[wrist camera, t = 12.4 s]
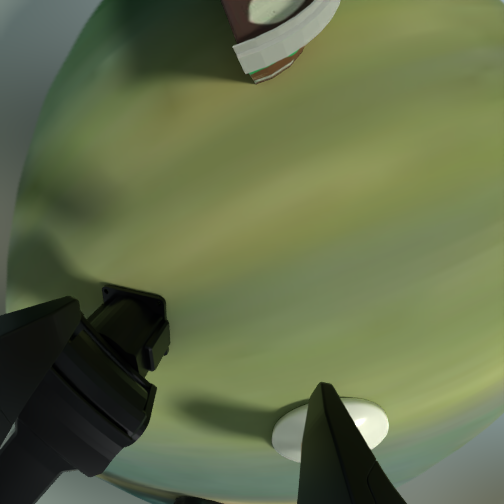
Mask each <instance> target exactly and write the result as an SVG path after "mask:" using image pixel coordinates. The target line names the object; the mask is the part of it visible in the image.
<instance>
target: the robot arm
mask: <svg viewBox="0 0 504 504" xmlns="http://www.w3.org/2000/svg"><path fill="white" fill-rule="evenodd" d="M107 290H108V291H107ZM102 293H103V299H104V303H103V304H102V305H101V306H100V307H99V308H98V309H97V310H96V311H95V312H94V313H93V314H92V315H91V316H90V317H89V318H88V319H86V318H85V317H84V316H83V315H84V314H83V313H82V312H81V311H80V306H79V301H78V300H77V299H75V298H73V297H71V296H66V297H63V298H59V299H56V300H52V301H49V302H45V303H42V304H39V305H35V306H32V307H28V308H25V309H21V310H18V311H14V312H11V313H7V314H4V315H1V316H0V504H35V503H36V502H37V501H38V500H39V499H40V497H41V496H42V495H43V494H44V493H45V492H46V491H47V490H48V488H49V487H50V486H51V485H52V484H53V483H54V482H55V480H56V479H57V478H58V477H59V476H60V475H61V474H62V473H63V472H68V471H75V470H79V471H81V472H82V473H83V474H85V475H86V476H88V477H93V476H95V475H98V474H101V473H102V472H103V471H104V470H105V469H106V467H107V466H108V465H109V463H110V462H111V461H112V460H113V458H114V457H115V456H116V455H117V454H118V453H119V452H120V451H121V450H122V449H123V448H124V447H127V446H130V445H131V444H133V443H134V442H135V441H136V440H137V439H138V438H139V437H140V436H141V435H142V434H143V432H144V431H145V429H146V428H147V426H148V424H149V421H150V417H151V412H152V408H153V403H154V399H155V395H156V390H157V387H156V386H154V385H153V384H152V383H149V382H148V381H147V380H146V379H145V376H146V375H147V373H148V371H154V370H155V369H156V368H157V366H158V364H159V362H160V361H161V359H162V357H163V355H164V356H165V355H167V354H168V352H169V347H168V346H169V345H170V330H169V322H168V320H167V316H166V301H165V299H164V298H162V297H160V296H155V295H150V294H146V293H141V292H137V291H132V290H128V289H124V288H120V287H115V286H111V285H105V286H104V287H103V288H102ZM158 301H159V302H161V304H159V303H158ZM14 422H15V428H14V429H13V430H12V431H11V432H10V434H9V435H8V436H7V434H8V433H9V431H10V429H11V427H12V425H13V424H14ZM6 436H7V437H6ZM5 438H6V439H5ZM297 504H407V503H406V502H405V501H404V499H403V498H402V497H401V495H400V494H399V493H398V492H397V490H396V489H395V487H394V486H393V485H392V483H391V482H390V480H389V479H388V477H387V476H386V474H385V473H384V471H383V470H382V468H381V466H380V465H379V463H378V461H376V458H375V456H374V455H373V453H372V451H371V449H370V448H369V446H368V444H367V443H366V441H365V439H364V438H363V436H362V434H361V433H360V431H359V429H358V427H357V426H356V424H355V422H354V421H353V419H352V417H351V416H350V414H349V412H348V411H347V409H346V407H345V405H344V404H343V402H342V400H341V399H340V397H339V395H338V394H337V392H336V390H335V389H334V387H333V385H332V384H330V383H325V382H320V383H319V384H318V385H317V387H316V388H315V390H314V392H313V393H312V395H311V396H310V399H309V403H308V409H307V415H306V421H305V427H304V432H303V438H302V450H301V465H300V478H299V490H298V500H297Z"/></svg>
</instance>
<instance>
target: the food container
mask: <svg viewBox="0 0 504 504" xmlns="http://www.w3.org/2000/svg"><path fill="white" fill-rule="evenodd" d="M221 3H222V5H223V8H224V10H225V13H226V16H227V18H228V21H229V24H230V26H231V29H232V32H233V34H234V37H235V39H236V42H237V45H234V46H232V47H233V49H234V51H235V53H236V54H237V57H238V60H239V62H240V64H241V66H242V68H243V70H244V72H245V74H248V73H249V74H250V76H251V77H252V79H253V80H254V82H255V84H258V83H261V82H264V81H267V80H270V79H272V78H274V77H275V76H277V75H278V74H280V73H281V72H283V71H284V70H286V69H287V68H289V67H290V66H291V65H292V64H293V62H294V61H295V60H296V59H297V58H298V56H299V55H300V54H301V53H302V51H303V49H304V47H305V45H306V44H307V43H308V42H310V41H311V40H312V39H313V38H314V37H315V36H317V35H318V34H319V33H320V32H321V31H322V30H323V29H324V27H325V26H326V25H327V24H328V23H329V21H330V20H331V19H332V17H333V15H334V14H335V12H336V10H337V8H338V6H339V4H340V0H221Z"/></svg>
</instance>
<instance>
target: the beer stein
mask: <svg viewBox="0 0 504 504" xmlns="http://www.w3.org/2000/svg"><path fill="white" fill-rule="evenodd" d="M174 504H223V503H219V502H216V501H211V500H206V499H201V498H195V497H187V496H182V497H178V498H176V501H175V503H174Z"/></svg>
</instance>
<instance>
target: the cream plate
mask: <svg viewBox="0 0 504 504" xmlns="http://www.w3.org/2000/svg"><path fill="white" fill-rule="evenodd" d="M340 399H341V400H342V402H343V404H344V405H345V407H346V409H347V411H348V412H349V414H350V416H351V417H352V419H353V421H354V422H355V424H356V426H357V427H358V429H359V431H360V433H361V434H362V436H363V438H364V439H365V441H366V443H367V444H368V446H369V448H370V449H373V448H374V447H376V446H377V445H378V444H379V443H380V442H381V441H382V440H383V439H384V437H385V436H386V434H387V432H388V428H389V423H388V419H387V416H386V412H385V411H384V409H383V408H382V407H381V406H379V405H378V404H376V403H374V402H372V401H369V400H365V399H359V398H340ZM307 409H308V404H306V405H303V406H300V407H298V408H296V409H294V410H292V411H290V412H288V413H287V414H285V415H284V416H283V417H281V418H280V419H279V420H278V422H277V423H276V424H275V426H274V428H273V434H272V445H273V447H274V449H275V450H276V451H277V452H278V453H279V454H280V455H282V456H283V457H285V458H287V459H289V460H292V461H295V462H300V463H301V443H302V438H303V432H304V427H305V421H306V415H307Z"/></svg>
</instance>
